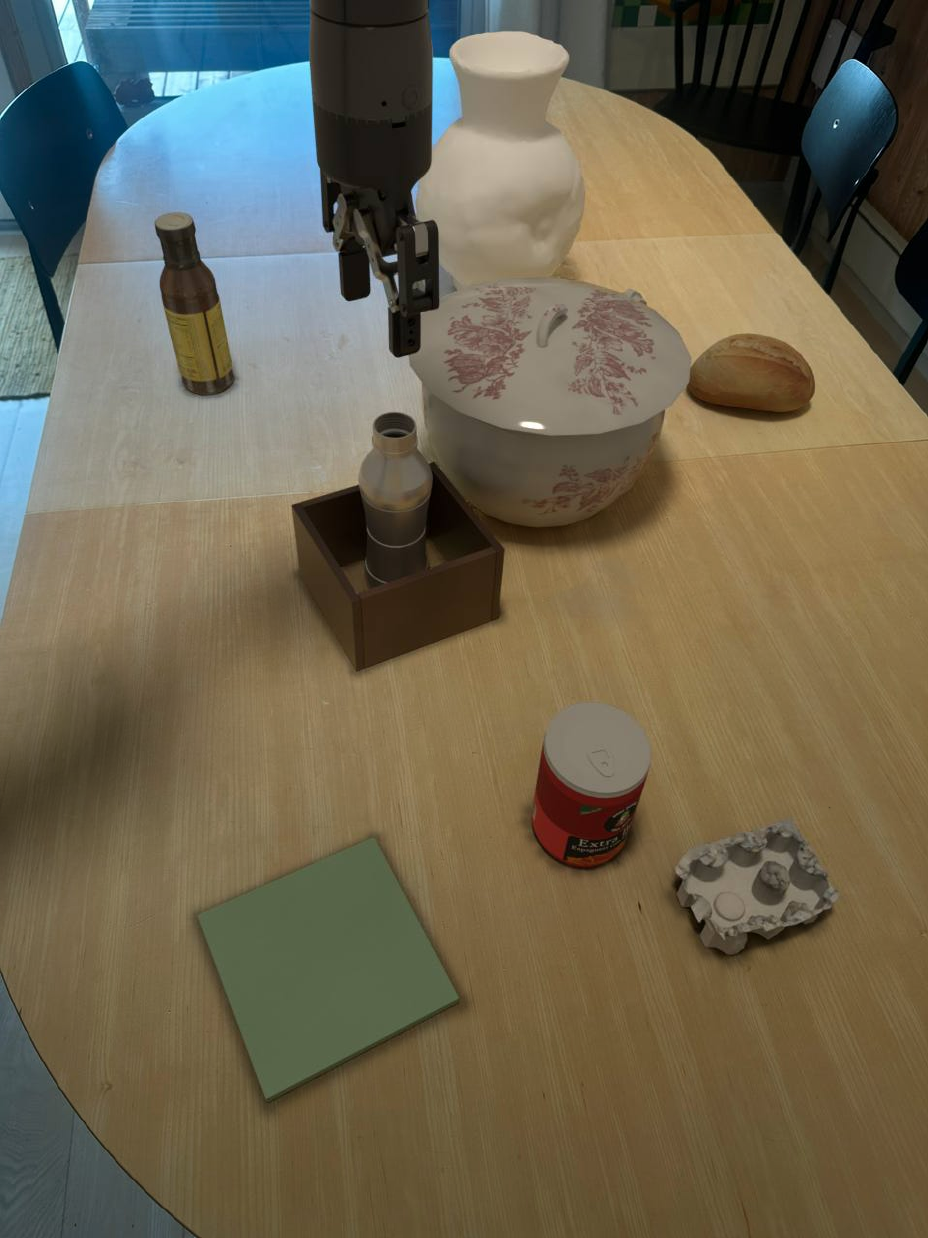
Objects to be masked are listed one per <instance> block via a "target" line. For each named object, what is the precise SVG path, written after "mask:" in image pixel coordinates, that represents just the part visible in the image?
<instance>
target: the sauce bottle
mask: <svg viewBox="0 0 928 1238" xmlns="http://www.w3.org/2000/svg"><path fill="white" fill-rule="evenodd" d="M154 229H155V234H156V236H157V238H158V239H159V242H160V247H161V251H162V259H163V263H164V267H163V268H162V271H161V273H160V277H159V290H160V295H161V296H160V297H161V302H162V306H163V310H164V315H165V318H166V322H167V326H168V332H169V336H170V340H171V344H172V347H173V351H174V356H175V360H176V364H177V369H178V371H179V374H180V375H181V380H182V384H183V386H184V387H185V388H186V389H187V390H188V391H190V392H191V393H195V394H198V395H204V396H205V395H212V394H217V393H220V392H222V391H224V390H226V389H227V388H229V386H230V385H231V384H232V383H233V381H234V372H233V368H232V367H233V361H232V356H231V355H232V354H231V351H230V346H229V345H230V344H229V339H228V334H227V329H226V324H225V319H224V314H223V308H222V303H221V298H220V295H219V293H218V289H217V283H216V278H215V275H214V274H213V272H212V271H211V269H210V268H209V266H207V264H205V262H204V261H203V260H202V259H201V252H200V251H199V248H198V243H197V237H196V232H197V229H196V224H195V220H194V218H193V217H192V215H190V214H189V213H186V212H181V211H177V212H175V211H174V212H167V213H165V214H162V215H160V216H158V218H156V219H155V220H154Z"/></svg>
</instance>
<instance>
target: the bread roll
mask: <svg viewBox="0 0 928 1238" xmlns="http://www.w3.org/2000/svg"><path fill="white" fill-rule="evenodd" d="M815 380H816V379H815V375H814V373H813V370H812V368H811V366H810V364H809V362H807V360H806V359H805V357H804V355H803V354H802V353H801V352H799V351H798V350H797V349H795V348H794V347H793V346H791V345H790V344H789V343H787V342H785V341H783V340H781V339H779V338H776V337H772V336H769V335H764V334H758V333H750V332H749V333H747V332H746V333H737V334H731V335H729V336H726V337H724V338H722V339H720V340H718V341H716V342H715V343H713V344H712V345H710V346H709V347H708V348H707V349H706V350H704V352H703V353H701V354H700V355H699V357H697V358H696V360H695V361H694V362H693V363H692V364H691V368H690V379H689V383H688V385H687V388H688V389H689V390H690V392H691V393H692V394H693V395H694V397H695V398H697V399H699V400H701V401H703V402H706V403H709V404H715V405H721V406H728V407H737V408H743V409H752V410H758V411H763V412H764V411H765V412H776V413H784V412H792V411H795V410H798V409H800V408H803V407H804V406H806V405H807V404H809V403H810V401H811V400H812V398H813V397H814V395H815V392H816V391H815V390H816V382H815Z"/></svg>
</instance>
